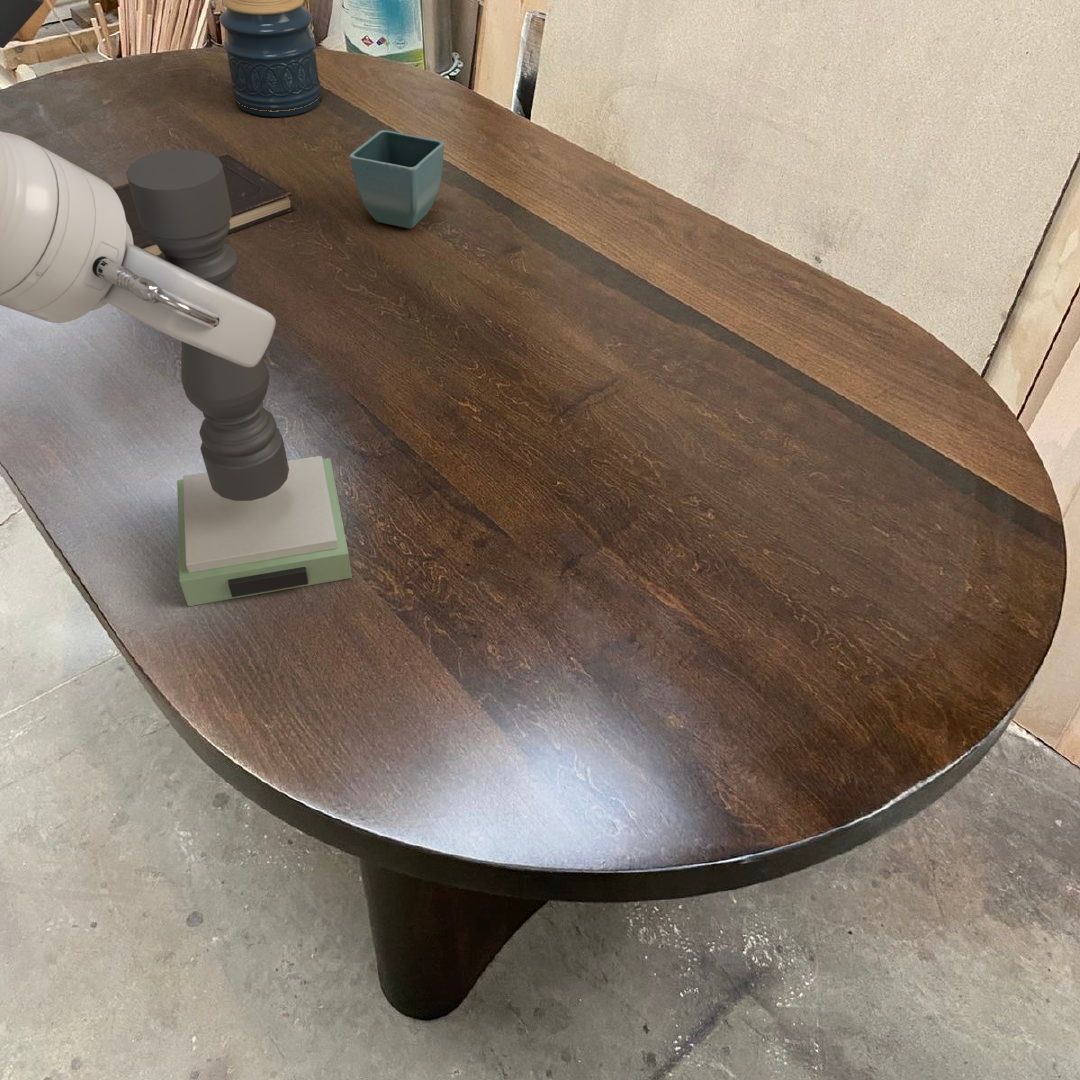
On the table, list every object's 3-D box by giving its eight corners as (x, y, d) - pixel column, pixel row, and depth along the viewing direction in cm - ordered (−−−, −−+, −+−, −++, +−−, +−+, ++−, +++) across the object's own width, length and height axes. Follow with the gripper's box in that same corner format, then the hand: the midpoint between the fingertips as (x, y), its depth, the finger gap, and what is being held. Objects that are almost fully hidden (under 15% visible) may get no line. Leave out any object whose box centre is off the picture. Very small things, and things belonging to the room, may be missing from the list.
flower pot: (386, 196, 126) (381, 127, 120) (448, 209, 124) (446, 140, 118) (354, 226, 120) (347, 155, 114) (418, 240, 118) (414, 169, 112)
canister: (304, 79, 153) (288, -47, 140) (335, 109, 145) (320, -21, 132) (223, 93, 148) (199, -37, 135) (250, 124, 140) (227, -10, 127)
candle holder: (273, 505, 74) (203, 196, 56) (197, 496, 75) (103, 186, 57) (299, 454, 79) (241, 152, 61) (226, 445, 79) (148, 143, 61)
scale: (188, 611, 76) (176, 577, 73) (184, 505, 84) (174, 471, 82) (353, 582, 79) (347, 548, 76) (334, 482, 87) (328, 448, 84)
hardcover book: (294, 210, 122) (291, 193, 121) (126, 271, 111) (120, 253, 109) (226, 167, 130) (222, 151, 129) (62, 221, 118) (56, 203, 117)
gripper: (191, 245, 50) (345, 326, 62) (-34, 137, 58) (143, 228, 71) (142, 356, 50) (305, 414, 63) (-74, 234, 58) (108, 307, 71)
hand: (218, 315), depth 67 cm, fingers closed on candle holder, 4 cm apart
